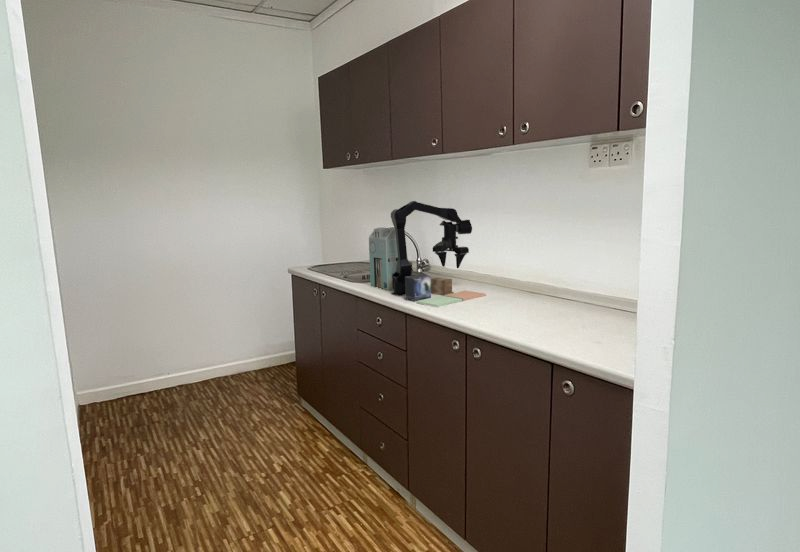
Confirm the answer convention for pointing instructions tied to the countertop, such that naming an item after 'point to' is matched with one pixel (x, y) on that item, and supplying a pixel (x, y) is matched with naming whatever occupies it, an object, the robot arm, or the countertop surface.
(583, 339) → the countertop surface
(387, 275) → the device
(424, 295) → the small box
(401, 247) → the robot arm
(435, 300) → the green and salmon panel
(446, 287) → the brown wooden block
